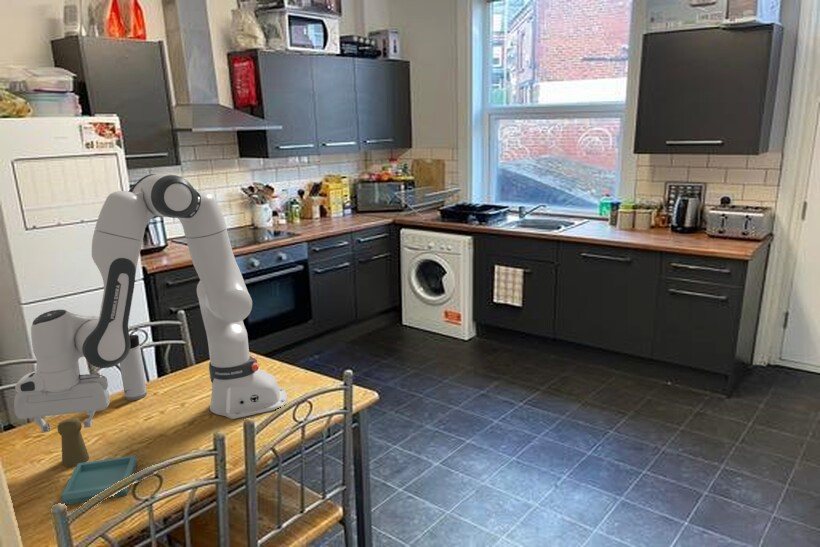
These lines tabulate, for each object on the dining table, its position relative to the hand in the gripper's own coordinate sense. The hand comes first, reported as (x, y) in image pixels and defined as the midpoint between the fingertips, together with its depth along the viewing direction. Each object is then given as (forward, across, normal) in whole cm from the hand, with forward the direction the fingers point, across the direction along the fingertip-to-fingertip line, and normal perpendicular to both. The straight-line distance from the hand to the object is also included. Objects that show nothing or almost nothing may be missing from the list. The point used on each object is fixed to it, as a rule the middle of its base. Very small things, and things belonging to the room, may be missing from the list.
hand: (67, 428), depth 147 cm
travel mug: (+9, -9, -35) cm, 37 cm away
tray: (+9, -10, +13) cm, 18 cm away
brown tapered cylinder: (+9, -1, 0) cm, 9 cm away
